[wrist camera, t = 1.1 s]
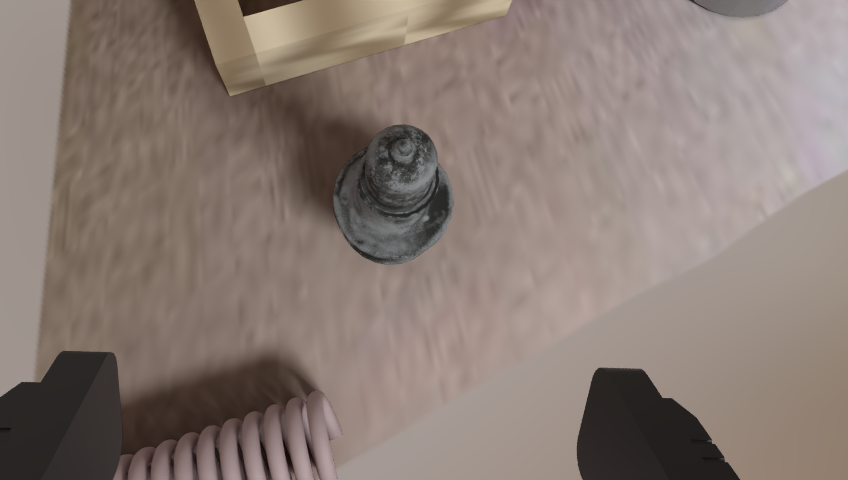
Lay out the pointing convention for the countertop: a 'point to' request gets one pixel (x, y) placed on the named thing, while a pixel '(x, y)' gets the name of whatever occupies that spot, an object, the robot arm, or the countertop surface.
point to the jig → (324, 33)
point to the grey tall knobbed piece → (393, 197)
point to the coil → (246, 447)
